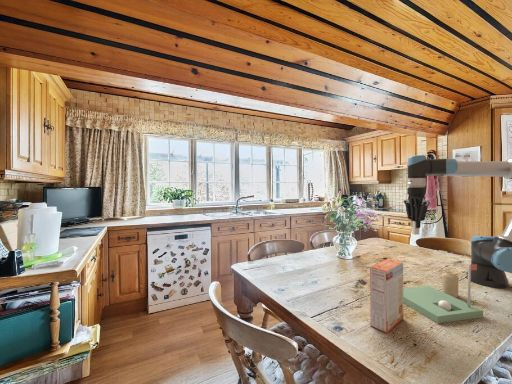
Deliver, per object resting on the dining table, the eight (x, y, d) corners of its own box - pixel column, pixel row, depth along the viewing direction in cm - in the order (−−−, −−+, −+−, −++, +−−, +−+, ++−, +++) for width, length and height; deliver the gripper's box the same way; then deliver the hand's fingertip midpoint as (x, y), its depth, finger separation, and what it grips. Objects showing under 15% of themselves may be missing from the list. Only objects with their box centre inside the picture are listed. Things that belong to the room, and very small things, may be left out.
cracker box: (386, 312, 89) (387, 258, 89) (404, 319, 85) (404, 262, 84) (368, 325, 81) (369, 265, 80) (387, 334, 76) (387, 270, 75)
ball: (442, 306, 92) (444, 297, 91) (453, 313, 88) (454, 303, 87) (434, 307, 91) (436, 298, 90) (444, 314, 87) (446, 305, 86)
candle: (442, 290, 107) (442, 269, 107) (457, 294, 104) (458, 272, 104) (442, 295, 103) (442, 272, 103) (458, 298, 99) (458, 275, 99)
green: (430, 290, 107) (430, 250, 107) (484, 316, 86) (485, 267, 85) (390, 294, 103) (390, 253, 103) (437, 323, 82) (438, 271, 81)
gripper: (399, 186, 121) (398, 232, 122) (421, 186, 108) (420, 237, 109) (411, 186, 122) (411, 231, 123) (435, 186, 110) (434, 236, 110)
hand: (415, 234), depth 116 cm, fingers closed
